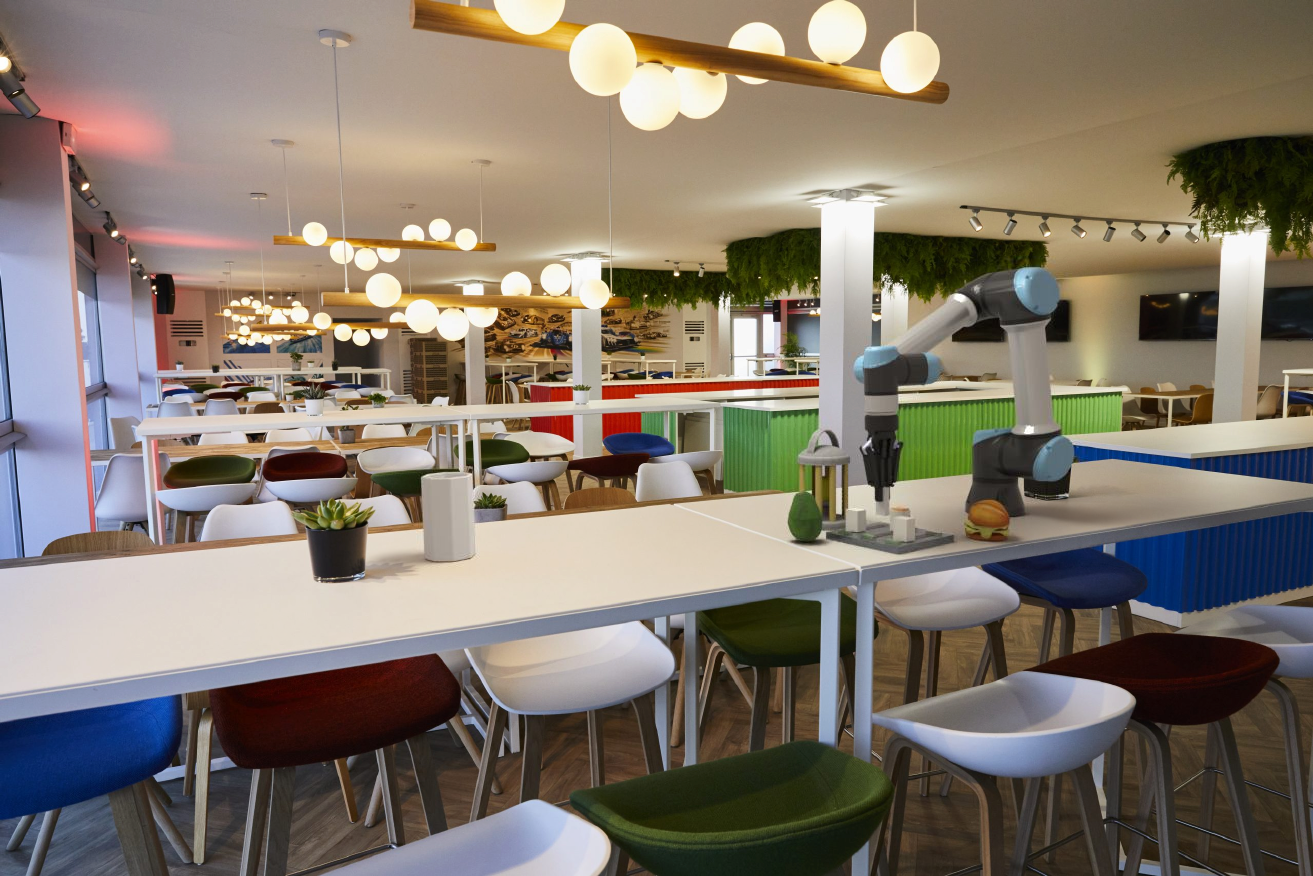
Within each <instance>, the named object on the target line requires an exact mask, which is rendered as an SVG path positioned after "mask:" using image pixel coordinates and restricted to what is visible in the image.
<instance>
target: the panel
mask: <svg viewBox="0 0 1313 876" xmlns="http://www.w3.org/2000/svg"><path fill="white" fill-rule="evenodd" d="M825 539H826V540H830V541H835V542H838V543H844V544H848V545H852V546H857V547H862V548H865V549H866V548H867V549H871V550H877V551H881V552H885V553H889V554H896V555H901V554H906V553H910V552H914V551H918V550H922V549H923V550H924V549H928V548H932V547H937V546H940V545H945V544H949V543H954V542H955V534H951V533H945V532H942V531H938V530H931V529H924V528H919V527H916V526H915V540H913V541H909V542H904V541H899V540H894V539H893V531H891V530H890V522H886V521H881V520H880V521H877V522H873V523H866V531H861V532H854V531H849V530H846V528H845V529H838V530H832V531H826V532H825Z"/></svg>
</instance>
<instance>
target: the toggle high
mask: <svg viewBox="0 0 1313 876" xmlns="http://www.w3.org/2000/svg"><path fill="white" fill-rule="evenodd" d="M915 527H916V517H911V516H910V517H906V516H899V517H894V518H893V539H894V540H899V541H904V542H909V541H913V540H915Z"/></svg>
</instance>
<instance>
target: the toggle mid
mask: <svg viewBox="0 0 1313 876" xmlns="http://www.w3.org/2000/svg"><path fill="white" fill-rule="evenodd" d="M899 516H906V517H911V509H910V508H908V507H902V506H893V507H890V508H889V523H890V530H891V531H893V518H894V517H899Z"/></svg>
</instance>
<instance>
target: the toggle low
mask: <svg viewBox="0 0 1313 876" xmlns="http://www.w3.org/2000/svg"><path fill="white" fill-rule="evenodd" d="M866 524H867V510H866V509H862V508H858V507H857V508H855V507H852V508H848V509H846V530H849V531H854V532H861V531H866Z"/></svg>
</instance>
